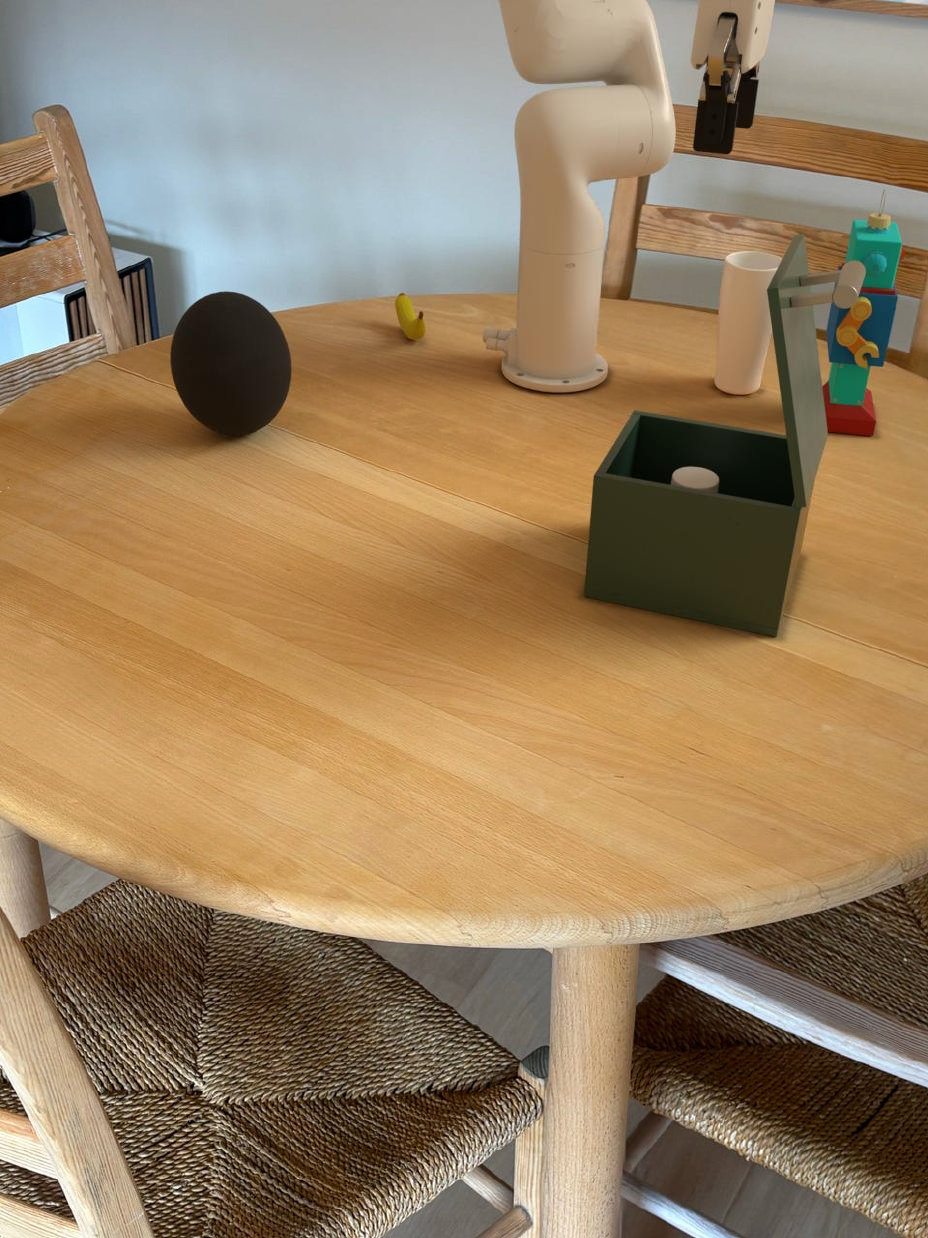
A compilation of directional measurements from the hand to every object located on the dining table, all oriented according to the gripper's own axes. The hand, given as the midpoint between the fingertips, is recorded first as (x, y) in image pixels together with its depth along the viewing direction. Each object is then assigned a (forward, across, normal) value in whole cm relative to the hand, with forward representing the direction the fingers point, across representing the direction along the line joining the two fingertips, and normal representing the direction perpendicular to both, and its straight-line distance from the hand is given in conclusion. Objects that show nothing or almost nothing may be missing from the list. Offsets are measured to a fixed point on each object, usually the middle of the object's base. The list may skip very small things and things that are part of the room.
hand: (723, 138), depth 107 cm
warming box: (+33, +17, +5) cm, 38 cm away
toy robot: (+34, -22, +14) cm, 42 cm away
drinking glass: (+34, -26, +1) cm, 42 cm away
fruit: (+34, -26, -40) cm, 58 cm away
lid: (+13, +17, +11) cm, 24 cm away
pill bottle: (+33, +17, +4) cm, 37 cm away
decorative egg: (+34, +6, -47) cm, 58 cm away
